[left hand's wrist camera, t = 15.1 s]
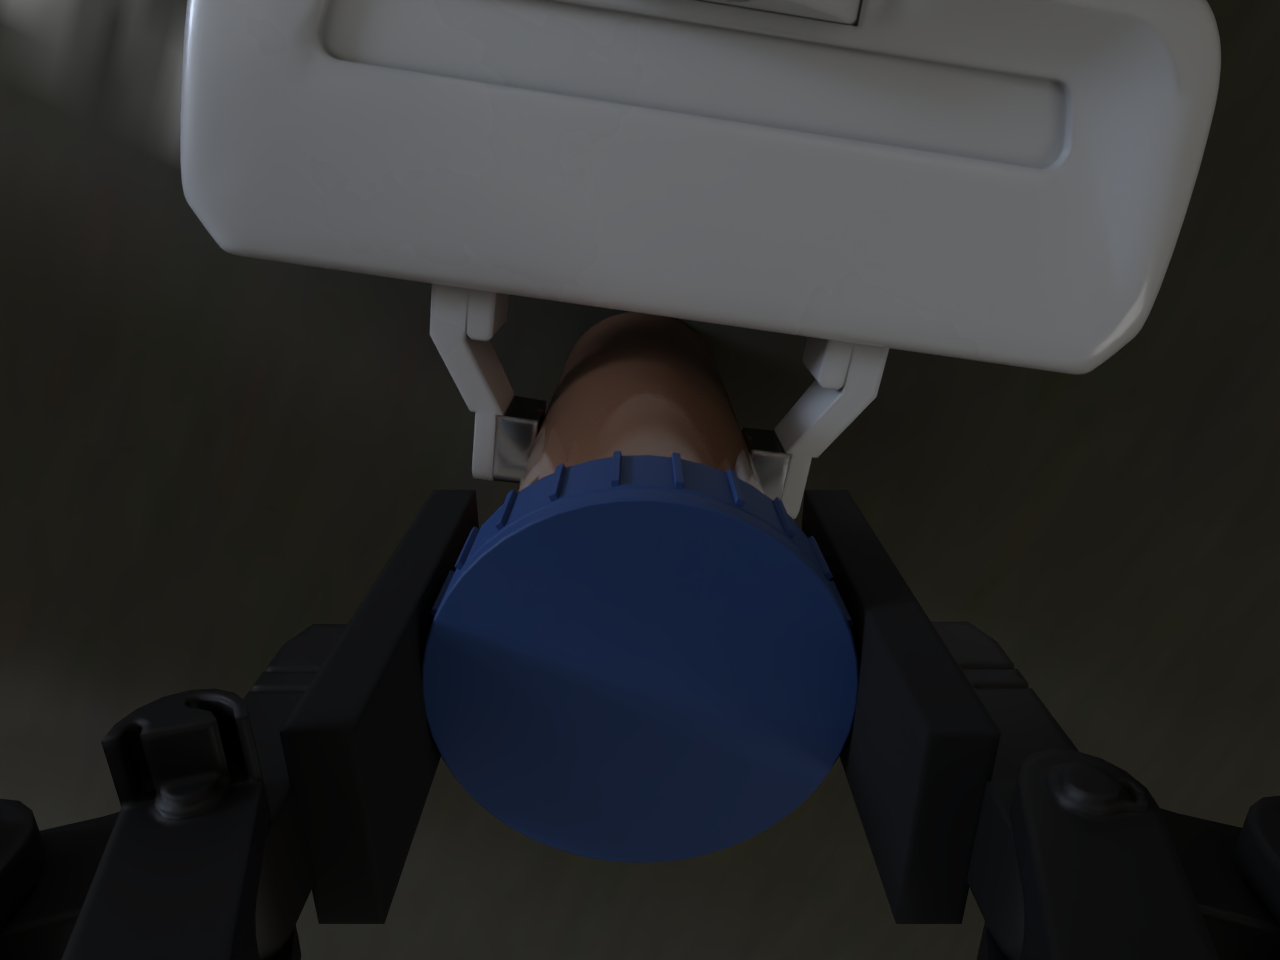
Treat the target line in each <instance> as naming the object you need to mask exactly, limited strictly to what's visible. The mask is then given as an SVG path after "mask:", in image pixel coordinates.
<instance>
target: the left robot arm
mask: <svg viewBox="0 0 1280 960" xmlns="http://www.w3.org/2000/svg"><path fill="white" fill-rule="evenodd" d="M474 526H475V527H477V528H478V529H479V526H478V514H477V502H476V490H433V492H432V493H431V495H430V496H429V498H428V500H427V501H426V503H425V504H424V506H423V507H422V509H421V511H420V512H419V514H418V515H417V517H416V519H415V520H414V522H413V523H412V525H411V526H410V528H409V530H408V531H407V533H406V534H405V536H404V537H403V539H402V541H401V542H400V544H399V545H398V547H397V548H396V550H395V552H394V553H393V555H392V556H391V558H390V559H389V561H388V563H387V564H386V566H385V567H384V569H383V570H382V572H381V574H380V575H379V577H378V578H377V580H376V581H375V583H374V585H373V586H372V588H371V589H370V591H369V592H368V594H367V596H366V597H365V599H364V600H363V602H362V603H361V605H360V607H359V608H358V610H357V611H356V613H355V614H354V616H353V618H352V619H351V621H350V622H349V624H313V625H311V626H310V627H309V628H307V629H306V630H304V631H303V632H301V633H300V634H298V635H297V636H295V637H294V638H292V639H291V640H290V641H288V642H287V643H285V644H284V645H283V647H282V648H281V649H280V651H279V652H278V653H277V655H276V656H275V657H274V659H273V660H272V661H271V663H270V664H269V665H268V667H267V672H263V673H262V675H261V676H260V677H259V679H258V680H257V682H256V683H255V684H254V686H253V691H249V692H248V694H247V695H246V696H245V698H244V699H241V698H240V697H239V696H238V695H237V694H235V693H233V692H228V691H223V690H219V689H202V690H189V691H185V692H181V693H177V694H174V695H170V696H166V697H162V698H160V699H158V700H156V701H154V702H151V703H149V704H147V705H145V706H143V707H140V708H138V709H136V710H135V711H133V712H132V713H131V714H129V715H128V716H126V717H125V718H124V719H122V720H121V721H119V722H118V723H117V724H115V725H114V726H113V728H112V729H111V730H110V732H109V733H108V734H107V735H106V737H105V738H104V739H103V741H102V746H103V749H104V752H105V755H106V759H107V762H108V765H109V768H110V771H111V775H112V778H113V781H114V784H115V788H116V791H117V794H118V797H119V800H120V804H121V807H122V808H121V810H120V812H117V813H114V814H111V815H107V816H104V817H100V818H95V819H91V820H86V821H82V822H78V823H73V824H69V825H64V826H60V827H55V828H51V829H47V830H42V831H39V828H38V826H37V823H36V820H35V817H34V815H33V812H32V810H31V809H29V808H28V807H27V806H25V805H24V804H23V803H21V802H20V801H15V800H6V799H0V960H301V951H300V944H299V938H298V933H297V929H296V922H297V920H298V918H299V916H300V913H301V911H302V909H303V907H304V905H305V902H306V900H307V898H308V896H309V894H310V891H311V889H312V893H313V897H314V902H315V907H316V912H317V917H318V922H319V924H384V923H385V920H386V917H387V914H388V911H389V908H390V905H391V902H392V899H393V896H394V894H395V891H396V888H397V885H398V882H399V879H400V876H401V873H402V870H403V867H404V864H405V861H406V858H407V855H408V852H409V849H410V846H411V843H412V840H413V837H414V834H415V831H416V828H417V825H418V822H419V819H420V816H421V813H422V810H423V807H424V805H425V802H426V799H427V796H428V793H429V790H430V787H431V784H432V781H433V778H434V775H435V772H436V769H437V766H438V763H439V760H440V757H441V754H440V752H439V750H438V748H437V746H436V744H435V742H434V740H433V738H432V735H431V731H430V728H429V725H428V722H427V719H426V714H425V706H424V698H423V689H422V661H423V655H424V649H425V644H426V640H427V637H428V634H429V631H430V628H431V625H432V622H433V619H434V617H435V616H433V615H430V613H431V611H432V608H433V606H434V604H435V601H436V599H437V597H438V595H439V593H440V591H441V589H442V587H443V584H444V582H445V580H446V578H447V576H448V574H449V572H450V570H452V571H456V568H455V564H456V562H457V560H458V558H459V556H460V553H461V551H462V549H463V547H464V545H465V543H466V541H467V538H468V536H469V534H470V532H471V530H472V529H473V527H474ZM802 531H803V532H804V534H805V535H806V536H807V538H809V537H811V536H813V537H814V538H815V540H816V542H817V544H818V546H819V548H820V550H821V552H822V555H823V557H824V559H825V561H826V563H827V565H828V567H829V570H830V572H831V574H832V576H833V577H832V578H830V579H829V581H834V582H835V585H836V587H837V589H838V591H839V593H840V595H841V597H842V600H843V602H844V604H845V606H846V608H847V610H848V613H849V615H850V617H851V619H852V622H853V626H851V627H850V629H851V631H852V634H853V639H854V643H855V647H856V652H857V656H858V668H859V685H858V693H857V702H856V710H855V716H854V720H853V724H852V728H851V731H850V733H849V736H848V738H847V740H846V743H845V745H844V748H843V750H842V752H841V754H840V755H839V756H840V759H841V762H842V765H843V768H844V771H845V773H846V776H847V779H848V782H849V785H850V788H851V791H852V794H853V797H854V800H855V803H856V806H857V809H858V812H859V815H860V818H861V821H862V824H863V827H864V830H865V833H866V836H867V839H868V842H869V845H870V848H871V851H872V854H873V857H874V859H875V862H876V865H877V868H878V871H879V874H880V877H881V880H882V883H883V886H884V889H885V892H886V895H887V898H888V901H889V904H890V907H891V910H892V913H893V916H894V919H895V922H896V924H962V919H963V914H964V910H965V905H966V900H967V895H968V890H969V886H970V889H971V891H972V893H973V895H974V897H975V900H976V902H977V904H978V906H979V908H980V911H981V913H982V915H983V917H984V919H985V924H984V929H983V933H982V938H981V942H980V947H979V951H978V956H977V960H1280V796H1274V797H1265V798H1262V799H1260V800H1259V801H1258V802H1256V803H1255V804H1254V805H1252V806H1251V807H1250V808H1249V811H1248V814H1247V817H1246V819H1245V822H1244V825H1243V828H1240V827H1235V826H1231V825H1226V824H1222V823H1218V822H1213V821H1209V820H1204V819H1200V818H1195V817H1191V816H1186V815H1182V814H1178V813H1174V812H1171V811H1167V810H1164V809H1161V808H1159V806H1158V805H1157V803H1156V802H1155V800H1154V799H1153V797H1152V796H1151V794H1150V793H1149V791H1148V790H1147V788H1146V787H1144V786H1143V785H1142V784H1141V783H1140V782H1138V781H1137V780H1136V779H1135V778H1133V777H1132V776H1131V775H1130V774H1129V773H1127V772H1126V771H1124V770H1122V769H1120V768H1118V767H1117V766H1115V765H1113V764H1111V763H1109V762H1107V761H1105V760H1103V759H1101V758H1098V757H1094V756H1091V755H1087V754H1084V753H1081V752H1079V751H1078V750H1077V748H1076V747H1075V746H1074V744H1073V743H1072V742H1071V740H1070V739H1069V738H1068V736H1067V735H1066V734H1065V732H1064V731H1063V730H1062V728H1061V727H1060V726H1059V724H1058V723H1057V722H1056V720H1055V719H1054V718H1053V716H1052V715H1051V714H1050V712H1049V711H1048V709H1047V708H1046V707H1045V705H1044V704H1043V703H1042V701H1041V700H1040V699H1039V697H1038V696H1037V695H1036V693H1035V692H1034V691H1033V689H1029V688H1028V683H1027V681H1026V680H1025V679H1024V677H1023V676H1022V675H1021V673H1020V672H1019V671H1018V669H1014V664H1013V663H1012V661H1011V660H1010V659H1009V657H1008V656H1007V655H1006V653H1005V652H1004V651H1003V649H1002V648H1001V647H1000V645H999V644H998V643H997V642H996V641H995V640H994V639H992V638H991V637H989V636H988V635H986V634H985V633H983V632H982V631H980V630H979V629H977V628H976V627H975V626H973V625H972V624H970V623H969V622H931V621H930V620H929V618H928V617H927V615H926V614H925V612H924V610H923V609H922V607H921V606H920V604H919V603H918V601H917V599H916V598H915V596H914V595H913V593H912V592H911V590H910V588H909V587H908V585H907V584H906V582H905V581H904V579H903V577H902V576H901V574H900V573H899V571H898V570H897V568H896V566H895V565H894V563H893V562H892V560H891V559H890V557H889V555H888V554H887V552H886V551H885V549H884V548H883V546H882V544H881V543H880V541H879V540H878V538H877V537H876V535H875V533H874V532H873V530H872V529H871V527H870V526H869V524H868V522H867V521H866V519H865V518H864V516H863V515H862V513H861V511H860V510H859V508H858V507H857V505H856V504H855V502H854V500H853V499H852V497H851V496H850V494H849V493H848V491H847V490H805V495H804V507H803V519H802Z"/></svg>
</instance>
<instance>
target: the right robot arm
mask: <svg viewBox="0 0 1280 960" xmlns="http://www.w3.org/2000/svg"><path fill="white" fill-rule="evenodd" d="M1220 70H1221V46H1220V36H1219V32H1218V27H1217V23H1216V20H1215V17H1214V14H1213V12H1212V10H1211V7H1210V6H1209V4H1208V2H1207V0H187V10H186V20H185V31H184V45H183V63H182V81H181V118H180V152H181V177H182V186H183V191H184V195H185V198H186V200H187V202H188V204H189V206H190V207H191V208H192V210H193V211H194V213H195V214H196V215H197V217H198V218H199V220H200V221H201V222H202V224H203V225H204V227H205V228H206V229H207V231H208V232H209V233H210V235H211V236H212V237H213V239H214V240H215V241H216V242H217V244H218V245H219V246H220V247H221V248H222V249H223V250H224V251H226V252H228V253H230V254H233V255H236V256H243V257H249V258H256V259H263V260H270V261H277V262H284V263H291V264H298V265H305V266H312V267H319V268H326V269H333V270H340V271H347V272H355V273H362V274H369V275H376V276H383V277H390V278H397V279H404V280H411V281H418V282H425V283H432V292H431V315H430V336H431V338H432V340H433V342H434V344H435V345H436V347H437V349H438V351H439V353H440V355H441V357H442V359H443V361H444V363H445V364H446V366H447V368H448V370H449V372H450V374H451V376H452V378H453V380H454V382H455V383H456V385H457V387H458V389H459V391H460V393H461V395H462V397H463V399H464V401H465V402H466V404H467V406H468V408H469V410H470V411H471V412H476V414H475V429H474V445H473V461H472V474H473V478H477V479H483V480H489V481H503V482H512V483H520V481H521V478H522V475H523V473H524V470H525V467H526V465H527V462H528V459H529V457H530V454H531V452H532V449H533V446H534V444H535V441H536V438H537V436H538V433H539V430H540V428H541V425H542V423H543V420H544V417H545V408H546V401H544V400H538V399H531V398H525V397H519V396H514V395H515V394H514V392H513V389H512V387H511V385H510V383H509V381H508V378H507V376H506V374H505V372H504V369H503V367H502V365H501V363H500V361H499V358H498V356H497V354H496V352H495V349H494V347H493V345H492V343H491V340H490V339H491V338H492V337H493V336H494V334H495V333H496V332H497V331H498V330H499V329H500V328H501V327H502V325H503V324H504V323H505V322H506V321H507V315H508V304H509V294H510V295H517V296H524V297H531V298H538V299H545V300H552V301H559V302H566V303H573V304H580V305H587V306H595V307H602V308H609V309H616V310H623V311H630V312H637V313H644V314H651V315H658V316H665V317H672V318H679V319H686V320H693V321H700V322H707V323H714V324H722V325H729V326H736V327H743V328H750V329H757V330H764V331H771V332H778V333H785V334H792V335H799V336H806V342H805V347H804V352H803V357H802V363H803V364H804V366H805V367H806V368H807V370H808V371H809V372H810V373H811V374H812V375H813V377H814V378H815V379H816V380H815V381H814V382H813V383H812V384H811V386H810V387H809V388H808V389H807V390H806V391H805V393H804V394H803V395H802V396H801V397H800V399H799V400H798V401H797V402H796V403H795V404H794V406H793V407H792V408H791V409H790V410H789V412H788V413H787V414H786V415H785V416H784V417H783V419H782V420H781V421H780V422H779V423H778V425H777V426H776V427H775V428H774V431H770V430H761V429H752V428H742V434H743V437H744V440H745V442H746V445H747V448H748V450H749V453H750V455H751V458H752V461H753V463H754V466H755V469H756V471H757V474H758V476H759V479H760V482H761V484H762V487H763V490H764V492H765V495H766V496H768V497H769V498H771V499H772V500H774V499H775V498H776V497H778V498H779V499H780V500H782V502H783V505H784V507H785V509H786V512H787V514H788V515H789V516H790V517H791V518H792V519H795V518H796V517H797V515H798V513H799V510H800V506H801V502H802V498H803V493H804V489H805V485H806V481H807V476H808V472H809V468H810V464H811V460H812V457H814V458H818V457H819V456H820V455H821V453H822V452H823V451H824V450H825V449H826V448H827V447H828V446H829V445H830V444H831V443H832V442H833V441H834V440H835V439H836V438H837V437H838V436H839V435H840V434H841V433H842V432H843V431H844V430H845V429H846V428H847V427H848V426H849V425H850V424H851V423H852V422H853V421H854V420H855V418H856V417H857V416H858V415H859V414H860V413H861V412H862V411H863V410H864V409H865V408H866V407H867V406H868V405H869V404H870V403H871V402H872V401H873V400H874V399H875V398H876V397H877V393H878V389H879V385H880V382H881V378H882V374H883V370H884V367H885V363H886V359H887V355H888V352H889V348H891V349H898V350H905V351H912V352H919V353H926V354H933V355H940V356H947V357H954V358H962V359H969V360H976V361H983V362H990V363H997V364H1004V365H1011V366H1018V367H1025V368H1032V369H1039V370H1046V371H1053V372H1060V373H1067V374H1075V375H1078V374H1086V373H1088V372H1090V371H1092V370H1094V369H1095V368H1096V367H1098V366H1099V365H1101V364H1102V363H1103V362H1105V361H1106V360H1107V359H1109V358H1110V357H1111V356H1112V355H1114V354H1115V353H1116V352H1117V351H1119V350H1120V349H1121V348H1122V347H1123V346H1125V345H1126V344H1127V343H1128V342H1130V341H1131V340H1132V339H1133V338H1134V337H1135V336H1136V335H1137V334H1138V332H1139V331H1140V330H1141V328H1142V327H1143V325H1144V323H1145V321H1146V319H1147V318H1148V316H1149V314H1150V311H1151V309H1152V307H1153V304H1154V302H1155V299H1156V297H1157V295H1158V292H1159V290H1160V287H1161V284H1162V282H1163V279H1164V276H1165V273H1166V271H1167V268H1168V265H1169V262H1170V260H1171V257H1172V254H1173V251H1174V248H1175V245H1176V242H1177V239H1178V236H1179V233H1180V230H1181V227H1182V224H1183V221H1184V218H1185V215H1186V212H1187V208H1188V205H1189V202H1190V198H1191V195H1192V192H1193V189H1194V185H1195V182H1196V179H1197V175H1198V172H1199V169H1200V165H1201V161H1202V157H1203V154H1204V150H1205V146H1206V142H1207V138H1208V135H1209V131H1210V126H1211V122H1212V118H1213V114H1214V110H1215V105H1216V100H1217V94H1218V89H1219V80H1220Z"/></svg>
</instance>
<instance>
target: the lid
mask: <svg viewBox="0 0 1280 960" xmlns="http://www.w3.org/2000/svg"><path fill="white" fill-rule="evenodd" d="M455 568H456V571H452V570H450V572H449V574H448V576H447V578H446V580H445V582H444V584H443V587H442V589H441V591H440V593H439V595H438V597H437V599H436V601H435V604H434V606H433V608H432V611H431V613H430V615H433V616H435V617H434V619H433V622H432V625H431V628H430V631H429V634H428V637H427V640H426V644H425V649H424V655H423V661H422V689H423V698H424V706H425V714H426V719H427V722H428V725H429V728H430V731H431V735H432V738H433V740H434V742H435V744H436V746H437V748H438V750H439V752H440V754H441V756H442V759H443V760H444V762H445V763H446V765H447V766H448V768H449V769H450V771H451V772H452V774H453V775H454V777H455V778H456V779H457V781H458V782H459V783H460V784H461V785H462V786H463V787H464V789H465V790H466V791H467V792H468V793H469V794H470V795H471V797H472V798H474V799H475V800H476V801H477V802H478V803H479V804H480V805H481V806H483V807H484V808H485V809H486V810H487V811H488V812H489V813H491V814H492V815H493V816H495V817H496V818H498V819H499V820H501V821H502V822H504V823H505V824H506V825H508V826H509V827H511V828H513V829H515V830H516V831H518V832H520V833H522V834H524V835H526V836H528V837H529V838H531V839H533V840H536V841H538V842H541V843H543V844H546V845H548V846H551V847H553V848H556V849H559V850H562V851H566V852H569V853H573V854H576V855H579V856H584V857H590V858H595V859H601V860H606V861H618V862H631V863H638V862H663V861H672V860H681V859H686V858H691V857H696V856H700V855H705V854H709V853H712V852H715V851H718V850H721V849H724V848H727V847H730V846H733V845H735V844H738V843H740V842H742V841H744V840H746V839H749V838H751V837H753V836H755V835H757V834H759V833H761V832H762V831H764V830H766V829H767V828H769V827H771V826H772V825H774V824H776V823H777V822H779V821H780V820H781V819H783V818H784V817H785V816H787V815H788V814H789V813H791V812H792V811H793V810H795V809H796V808H797V807H798V806H799V805H800V804H801V803H802V802H803V801H804V800H806V799H807V798H808V797H809V796H810V795H811V794H812V793H813V792H814V791H815V790H816V788H817V787H818V786H819V785H820V783H821V782H822V781H823V780H824V778H825V777H826V776H827V775H828V773H829V772H830V770H831V769H832V767H833V765H834V764H835V762H836V760H837V759H838V757H839V755H840V754H841V752H842V750H843V748H844V745H845V743H846V740H847V738H848V736H849V733H850V731H851V728H852V724H853V720H854V716H855V710H856V702H857V693H858V685H859V668H858V656H857V652H856V647H855V643H854V639H853V634H852V631H851V629H850V627H851V626H853V622H852V619H851V617H850V615H849V613H848V610H847V608H846V606H845V604H844V602H843V600H842V597H841V595H840V593H839V591H838V589H837V587H836V585H835V582H834V581H829V579H830V578H832V577H833V576H832V574H831V572H830V570H829V567H828V565H827V563H826V561H825V559H824V557H823V555H822V552H821V550H820V548H819V546H818V544H817V542H816V540H815V538H814V537H813V536H811V537H809V538H807V536H806V535H805V534H804V532H803V531H802V530H801V529H800V527H799V526H798V525H797V524H796V522H795V521H794V520H793V519H792V518H791V517H790V516H789V515H788V514H787V512H786V509H785V507H784V505H783V502H782V500H780V499H779V498H778V497H776V498H775V499H774V500H772V499H771V498H769V497H768V496H766V495H765V494H763V493H762V492H761V491H759V490H758V489H756V488H755V487H753V486H752V485H750V484H748V483H746V482H744V481H742V480H741V479H739V478H738V477H737V474H736V471H735V470H733V469H730V468H729V469H728V471H727V472H724V471H721V470H718V469H716V468H713V467H710V466H707V465H705V464H701V463H697V462H692V461H688V460H684V459H681V456H680V453H675V452H673V454H672V457H663V456H653V455H631V456H622V455H621V451H614V452H613V457H609V458H602V459H596V460H591V461H588V462H584V463H580V464H577V465H573V466H570V467H567V468H566V467H565V465H564V464H560V465H557V467H556V470H555V473H552V474H550V475H548V476H545V477H543V478H541V479H539V480H538V481H536V482H534V483H533V484H531V485H529V486H527V487H526V488H524V489H522V490H521V491H519V492H518V493H516V492H515V491H514V490H512V491H510V492H509V493H508V494H507V497H506V499H505V502H504V504H503V505H501V506H500V507H499V508H498V509H497V510H496V511H495V512H494V513H493V514H492V515H491V516H490V518H489V519H488V520H487V521H486V522H485V523H484V524H483V525H482V526H481V528H480V529H478V528H477V527H475V526H474V527H473V529H472V530H471V532H470V534H469V536H468V538H467V541H466V543H465V545H464V547H463V549H462V551H461V553H460V556H459V558H458V560H457V562H456V564H455Z"/></svg>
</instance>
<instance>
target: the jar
mask: <svg viewBox="0 0 1280 960" xmlns="http://www.w3.org/2000/svg"><path fill="white" fill-rule="evenodd" d="M614 451H621V455H622V456H631V455H653V456H663V457H672V454H673V452H675V453H680V456H681V459H684V460H688V461H692V462H697V463H701V464H705V465H707V466H710V467H713V468H716V469H718V470H721V471H724V472H727V471H728V469H729V468H730V469H733V470H735V471H736V474H737V477H738V478H739V479H741V480H742V481H744V482H746V483H748V484H750V485H752V486H753V487H755V488H756V489H758V490H759V491H761V492H762V493H763V494H765V492H764V490H763V487H762V484H761V482H760V479H759V476H758V474H757V471H756V469H755V466H754V463H753V461H752V458H751V455H750V453H749V450H748V448H747V445H746V442H745V440H744V437H743V434H742V432H741V429H740V426H739V424H738V421H737V419H736V416H735V413H734V411H733V408H732V405H731V403H730V400H729V398H728V395H727V392H726V390H725V387H724V384H723V382H722V379H721V377H720V374H719V371H718V369H717V366H716V363H715V361H714V359H713V356H712V354H711V352H710V351H709V349H708V347H707V346H706V344H705V343H704V342H703V340H702V339H701V338H700V337H699V336H698V335H697V334H696V333H695V332H694V331H693V330H692V329H690V328H689V327H688V326H686V325H685V324H683V323H682V322H680V321H678V320H676V319H674V318H672V317H665V316H658V315H651V314H644V313H637V312H626V313H621V314H617V315H614V316H611V317H609V318H607V319H604V320H602V321H601V322H599V323H597V324H596V325H594V326H593V327H591V328H590V329H589V330H588V331H586V332H585V333H584V334H583V335H582V336H581V338H580V339H579V340H578V341H577V342H576V344H575V345H574V347H573V348H572V349H571V351H570V353H569V355H568V357H567V359H566V362H565V365H564V367H563V370H562V373H561V375H560V378H559V380H558V383H557V386H556V388H555V391H554V394H553V396H552V399H551V402H550V404H549V407H548V409H547V412H546V415H545V417H544V420H543V423H542V425H541V428H540V430H539V433H538V436H537V438H536V441H535V444H534V446H533V449H532V452H531V454H530V457H529V459H528V462H527V465H526V467H525V470H524V473H523V475H522V478H521V481H520V483H519V486H518V488H517V491H516V493H518V492H519V491H521V490H522V489H524V488H526V487H527V486H529V485H531V484H533V483H534V482H536V481H538V480H539V479H541V478H543V477H545V476H548V475H550V474H552V473H555V470H556V467H557V465H560V464H564V465H565V467H566V468H567V467H570V466H573V465H577V464H580V463H584V462H588V461H591V460H596V459H602V458H609V457H613V452H614Z"/></svg>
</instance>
